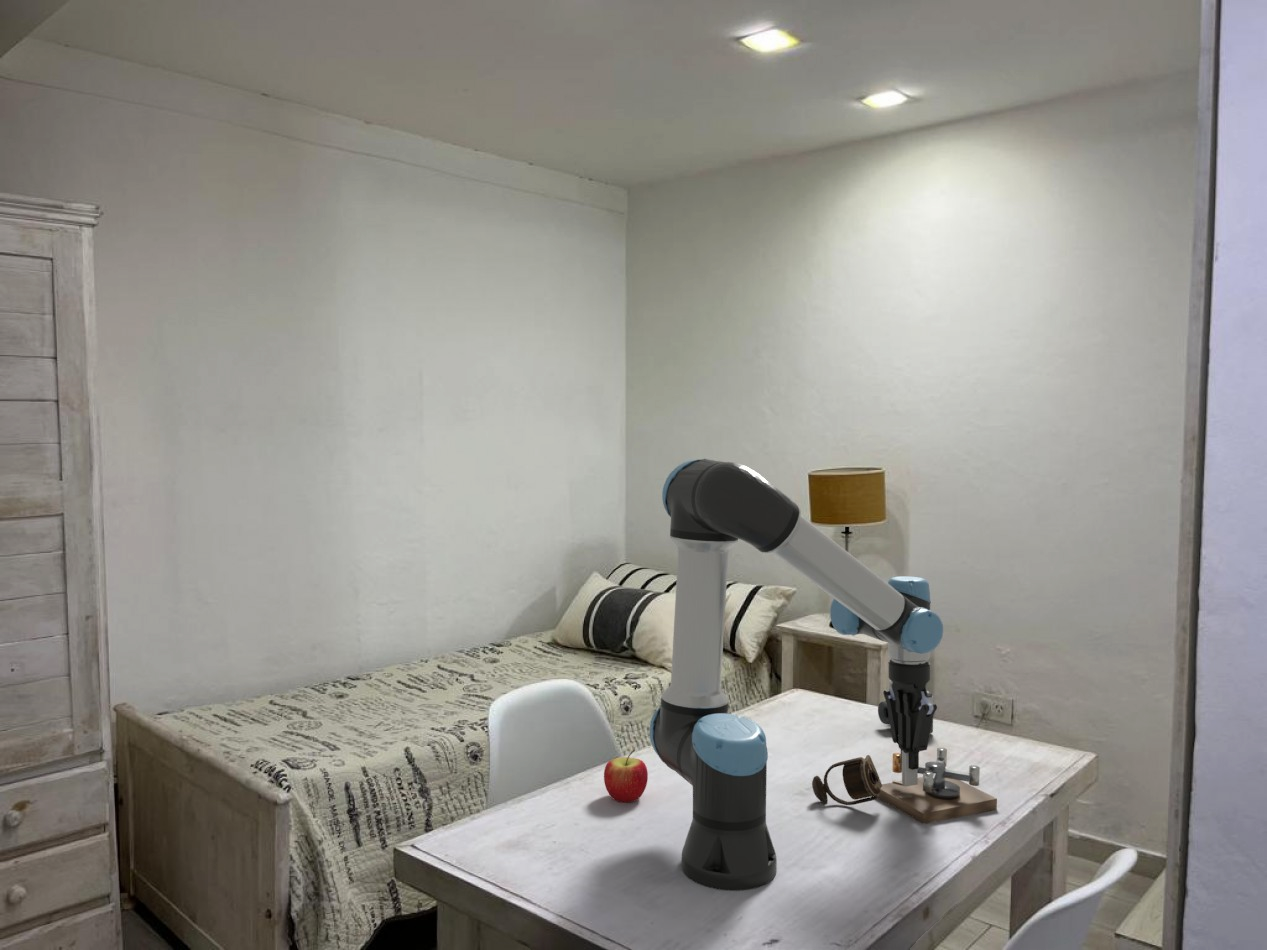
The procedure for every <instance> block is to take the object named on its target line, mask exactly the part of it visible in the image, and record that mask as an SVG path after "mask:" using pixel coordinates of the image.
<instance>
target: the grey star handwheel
mask: <svg viewBox="0 0 1267 950" xmlns="http://www.w3.org/2000/svg"><path fill="white" fill-rule="evenodd" d="M947 752H948V749H947V748H944V747H937V748H936V760H935V761H926V762H925V765H922V764H919V767H918V774H919V775H920V774H921V775H922V777H923V791H925V792H926V793H927V794H928V795H929V796H931V797H934V798H937V799H942V800H953V799H957V798H959V797H960V787H959V786H958V785H957V784H955V783H953V782H949V781H945V778H950V779H955V780H960V781H962V782H966V783H968V785H971V786H973V787H974V786H975V787H977V786H978V787H979V786H980V775H981V774H980V769H981V768H980V766H978V765H975V764H974V765H973V764H972V765H969V767H968V772H965V771H958V770H953V769H946V767H947V763H948V761H947V759H948V758H947V757H948V755H947ZM892 772H894V773H897V774H902V765H901V753H900V752H899V753H898V752H897V753H896V752H895V753H892Z"/></svg>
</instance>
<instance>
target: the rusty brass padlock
mask: <svg viewBox="0 0 1267 950" xmlns="http://www.w3.org/2000/svg"><path fill="white" fill-rule="evenodd" d="M841 766H842V780H843V784H844V787H845V790H846V792H847V794H848V796H849V797H850V798H851V799H852V801H847V800H844V799H841V798H839V797H837V796H836V795H835V794H834V793H833V792H832V791H831V789H830V787H829V784H828V777H829V776H828V775H829V773H830V772H831V771H832V770H833V769H834V768H837V767H841ZM811 782H812V783H811V785H812V787H811V788H812V791H813V794H814V795H815V797H816V798H817V800H819V801H820V802H821V803H823V804H826V803H828V801H829V799H828V797H830V799H832V800H833V801H834V802H836V803H838V804H842V805H844V806H855V805H858V804H862V803H867V802H871V801H875V800H878V799H879V798H878V797H879V793H880V789H881V787H882V781H881V779H880V776H879V773H878V772H877V768H876V766H875V764H874V762H873V759H872V758H871V755H869V754H867V755H866V756H865V758H864V757H861V756H859V757H855V758H852V759H847V760H842V761H840V762H836V763H833V764H832V765H830V766H829V767H828V768H827V770H826V772H825V773H824V776H823V781H822V779H821V778H820V776H818V775H815V776H814V777H813V778H812V781H811Z"/></svg>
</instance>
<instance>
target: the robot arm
mask: <svg viewBox="0 0 1267 950" xmlns="http://www.w3.org/2000/svg"><path fill="white" fill-rule="evenodd" d="M661 499H662V505H663V508H664V510H665V511H666V513H667V515H668V516H669V517H670V531H669V533H670V534H669V538H670V539H671V540H672V542H674V544H675V545H676V546H677V549H678V550H677V562H676V564H677V566H676V567H677V568H676V583H675V584H676V585H675V602H674V603H675V604H674V622H673V637H672V638H673V640H672V654H671V655H672V658H671V673H670V674H671V675H670V685H669V686H668V687H667V688H666V689H665V690H663V691H662V693H661V695H660V696H661V697H660V704H659V707H658V708H657V710H655V711H654V713H652V714H653V715H652V716H651V720H650V724H649V739H650V743H651V746H652V748H653V751H655V754H656V755H657V756H658V758H659V759H660V760H661V762H662V763H664V764H665V765H666V767H668V768H669V769H671V770H672V771H675V773H676V774H678V775H679V776H680V777H682V778H683V779H684V780H685V781H686V782H688V783H689V784H690V785H691V786H692V820H691V823H690V826H689V829H688V832H687V835H686V838H685V842H684V844H683V847H682V850H681V871H682V873H683V874H684V876H686V877H687V879H689V880H690V881H692V882H694V883H696V884H698V885H700V886H703V887H707V888H709V889H715V890H721V891H747V890H752V889H756V888H759V887H762V886H764V885H765V886H766V885H767V884H768V883H770V882H771V881H773V879H774V878H775V877H776V875H777V870H778V869H777V865H778V864H777V853H776V851H775V848H774V844H773V840H772V838H771V835H770V831H769V828H768V825H767V772H768V771H767V768H768V767H767V762H768V757H769V756H768V755H769V754H768V753H769V752H768V746H767V738H766V736H767V735H766V734H765V731H764V730H763V728H762V727H761V726H760V725H759V724H758V723H757V722H756V721H753V720H752V719H750V718H748V717H745V716H738V715H737V714H733V713H729V705H730V704H729V703H730V701H729V700H730V699H729V697H728V696H727V695H726V694H725V692H724V691H723V690H722V688H721V686H722V685H721V683H722V669H723V668H722V667H723V653H724V651H723V650H724V633H725V632H724V631H725V617H726V602H727V601H726V600H727V581H728V569H729V568H728V565H729V552H730V549H732V548H733V547H734V545H736V544H737V543H738V542H739V540H741V541H743V542H745V543H747V544H749V545H751V546H752V547H753V548H755V549H756V550H757V551H759V552H761V553H762V554H769V553H773V554H774V555H775V556H776V557H778V558H779V559H780V560H781V561H783V562H784V563H786V564H787V565H788V566H790V567H791V568H792V569H794V570H795V571H796V572H798V573H799V574H800V575H802V576H803V577H804V578H806V579H807V580H809V581H810V582H811V583H813V584H814V585H815V586H817V588H819V589H821V590H822V591H823V592H824V593H826V594H827V595H828V596H830V597H831V598H833V599H832V601H831V604H830V608H829V609H830V611H829V612H830V614H829V615H830V616H829V617H830V621H831V624H832V626H833V628H834V630H835V631H836V632H837V633H838V634H839V635H843V636H853V637H854V636H856V635H863V636H864V635H866V636H868V637H871V638H873V639H876V640H878V641H882V642H885V643H887V646H888V647H887V656H888V658H890V659H889V660H888V679H889V681H890V680H891V681H893V683H892V688H891V689H890V690H889V689H885V690H883V697H884V699H885V700H884V701H886V702H887V708H888V714H889V721H890V724H889V726H890V733H891V738H892V742H893V743H894V744H897V745H898V748H899V749H900V754H901V765H902V772H901V781H902V785H904V786H912V785H917V784H918V778H919V776H918V775H919V773H918V767H919V765H920V762H919V761H920V758H919V757H920V755H919V754H920V752H923V751H927V750H928V746H929V740H930V730H931V724H932V719H933V720H934V715H935V713H936V712H937V710H938V709H937V708H938V706H937V704H936V703H934V702H933V704H931V703H930V701H929V700H928V699H927V691H928V690H927V687H926V686H927V684H928V683H929V682H930V681H931V663H930V661H928V660H930V658H931V652H933V651H934V650H936V649H937V647H938V646H939V644H940V643H941V641H942V639H943V635H944V625H943V621H942V619H941V618H940V616H939V615H938V614H937V613H935V612H934V611H932V610H931V592H930V584H929V582H928V581H927V579H925V578H923V577H919V576H918V577H917V576H895V577H890V578H889V579H888V581H885V580H884V579H882V578H881V577H880V576H879V575H878V574H876V573H875V572H874V571H873V570H871V569H870V568H869V567H867V566H866V565H865V564H864V563H862V562H861V561H860V560H859V559H857V558H856V557H855V556H853V555H852V554H851V553H850V552H849V551H847V550H846V549H844V548H843V547H842V546H841V545H839V543H838V542H835V541H834V540H833V539H831V537H829V536H828V535H827V534H825V533H824V532H823V531H821V530H820V528H818V527H816V526H815V525H814V524H813V523H811V522H810V521H809V520H807V518H805V517H804V516H803V515H802V513H801V507H800V505H799V504H797V503H796V501H793V500H792V499H791V498H790V497H788V496H787V495H786V494H785V493H784V492H782V491H781V490H780V489H779V488H778V487H776V486H775V485H774V484H773V483H771V482H770V481H769V480H767V479H766V478H765V477H764V476H762V475H761V474H759V472H756V470H754V469H752V468H750V467H748V466H747V465H744V464H741V463H738V462H732V461H731V462H730V461H720V460H714V459H707V458H702V459H698V458H697V459H693V460H692V459H691V460H688V461H684V462H683V463H681V464H679V465H677V466H676V467H675V468H674V469H673V470H672V471H670V472H669V474H668V476H667V478H666V479H665V482H664V484H663V488H662V496H661Z"/></svg>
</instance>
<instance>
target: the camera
mask: <svg viewBox="0 0 1267 950" xmlns="http://www.w3.org/2000/svg"><path fill="white" fill-rule="evenodd" d="M888 681H889V683H888V684H889V687H888V688H889V689H888V690H890V689H891V688H892V683H893V681H891V680H890V679H889V680H888ZM926 691H927V699H928V700H929V701H930V703H931V704H933V703H934V696H933V693H932V692H930V691H929V690H926ZM877 713H878V719H879V720H880V722H881V723H882V724H883V725H884V724H885V725H890V721H889V714H888V708H887V702H886V700H883V701H880V702H879V704H878V707H877ZM933 732H934V718H933V719H932V724H931V730H930V734H933Z"/></svg>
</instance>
